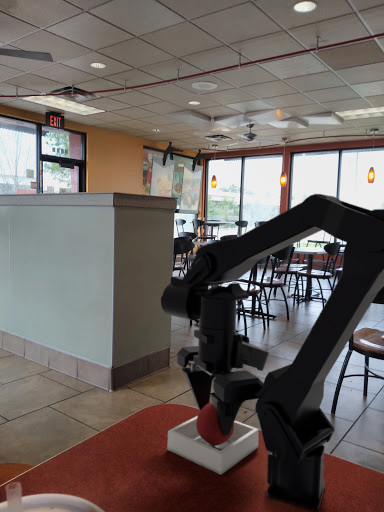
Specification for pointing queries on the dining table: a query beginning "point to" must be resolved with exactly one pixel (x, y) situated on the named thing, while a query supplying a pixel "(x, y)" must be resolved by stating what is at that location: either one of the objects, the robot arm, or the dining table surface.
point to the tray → (212, 457)
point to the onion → (210, 426)
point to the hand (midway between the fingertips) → (214, 423)
